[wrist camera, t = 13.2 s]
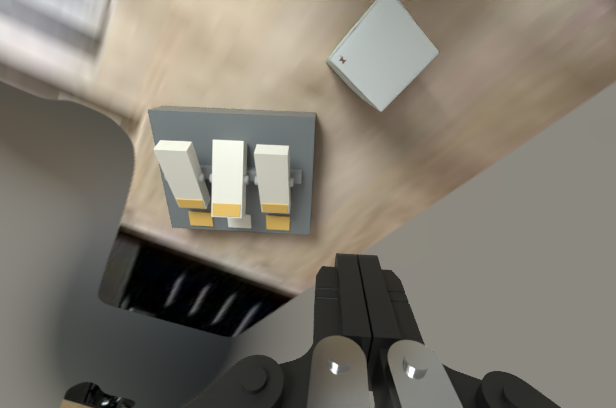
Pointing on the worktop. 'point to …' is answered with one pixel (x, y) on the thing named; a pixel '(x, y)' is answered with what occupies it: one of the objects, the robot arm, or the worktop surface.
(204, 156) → the console
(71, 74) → the worktop surface
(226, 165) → the rocker mid
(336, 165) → the worktop surface
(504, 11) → the worktop surface
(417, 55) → the supplement box
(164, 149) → the rocker
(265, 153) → the rocker
